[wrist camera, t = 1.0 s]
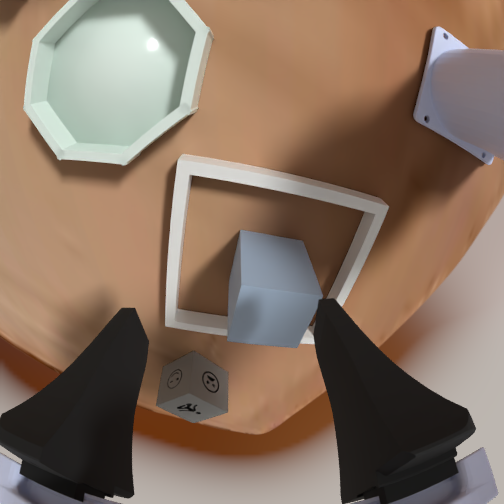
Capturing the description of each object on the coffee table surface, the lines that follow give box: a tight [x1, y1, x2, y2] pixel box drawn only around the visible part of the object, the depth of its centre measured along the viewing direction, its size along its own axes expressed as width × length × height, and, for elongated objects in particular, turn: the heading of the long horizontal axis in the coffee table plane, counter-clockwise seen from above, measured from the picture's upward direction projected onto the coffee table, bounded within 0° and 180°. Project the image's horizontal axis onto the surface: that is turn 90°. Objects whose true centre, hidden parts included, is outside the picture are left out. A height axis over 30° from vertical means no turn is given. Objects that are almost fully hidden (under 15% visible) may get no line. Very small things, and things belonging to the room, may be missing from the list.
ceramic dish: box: [23, 0, 214, 166], centre depth 12 cm, size 11×11×2 cm
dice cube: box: [156, 351, 228, 423], centre depth 26 cm, size 5×5×5 cm
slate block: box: [227, 230, 323, 348], centre depth 18 cm, size 4×4×6 cm
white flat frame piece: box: [165, 154, 389, 344], centre depth 20 cm, size 14×14×2 cm
